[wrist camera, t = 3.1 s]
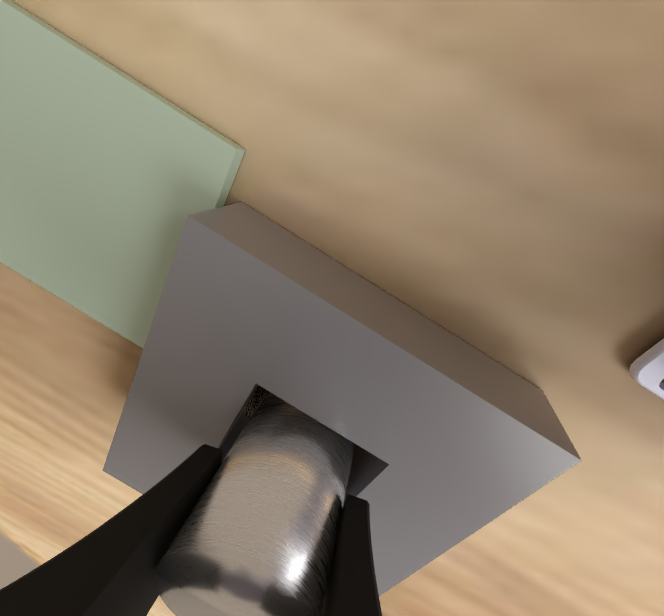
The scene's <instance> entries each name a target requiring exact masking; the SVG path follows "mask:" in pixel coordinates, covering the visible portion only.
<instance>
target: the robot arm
mask: <svg viewBox="0 0 664 616" xmlns="http://www.w3.org/2000/svg"><path fill="white" fill-rule="evenodd" d="M629 371H630V375H631V376H632V377H633V378H634V379H635V380H636V381H637V382H638V383H639V384H640V385H641V386H643V387H644V388H646V389H647V390H649V391H651V392H652V393H654V394H655V395H657V396H658V397H660V398H662V399H663V400H664V383H660V382H661V381H662V380H663V379H664V338H663V339H662V340H661V341H659V342H658V343H657V344H656V345H654V346H653V347H652V348H650V349H649V350H648V351H646V352H645V353H644V354H642V355H641V356H640V357H639V358H637V359H636V360H635V361H634V362H633V363H632V364H631V366H630V369H629ZM222 454H223V450H221V449H218V448H215V447H213V446H210V445H207V444H204V445H201V446H200V447H199V448H198V449H197V450H196V451H195V452H194V453H192V454H191V455H190V456H189V457H188V458H187V459H186V460H185V461H183V462H182V463H181V464H180V465H179V466H178V467H176V468H175V469H174V470H173V471H172V472H170V473H169V474H168V475H167V476H166V477H164V478H163V479H162V480H161V481H159V482H158V483H157V484H156V485H154V486H153V487H152V488H151V489H149V490H148V491H147V492H146V493H144V494H143V495H142V496H140V497H139V498H138V499H137V500H135V501H134V502H133V503H131V504H130V505H129V506H127V507H126V508H125V509H123V510H122V511H121V512H119V513H118V514H116V515H115V516H114V517H112V518H111V519H110V520H108V521H107V522H105V523H104V524H103V525H101V526H100V527H98V528H97V529H96V530H94V531H93V532H91V533H90V534H88V535H87V536H85V537H84V538H83V539H81V540H80V541H78V542H77V543H75V544H74V545H72V546H71V547H69V548H67V549H66V550H64V551H63V552H61V553H60V554H58V555H57V556H55V557H54V558H52V559H50V560H49V561H47V562H46V563H44V564H42V565H41V566H39V567H38V568H36V569H34V570H33V571H31V572H29V573H28V574H26V575H24V576H23V577H21V578H19V579H18V580H16V581H14V582H13V583H11V584H9V585H8V586H6V587H4V588H2V589H1V590H0V616H146V615H147V614H148V612H149V610H150V608H151V607H152V605H153V604H154V602H155V600H156V599H157V597H158V596H159V593H158V591H157V589H156V585H155V580H154V575H155V570H156V568H157V566H158V564H159V563H160V561H161V559H162V558H163V556H164V555H165V553H166V551H167V550H168V548H169V547H170V545H171V543H172V542H173V540H174V539H175V537H176V535H177V534H178V532H179V531H180V529H181V527H182V526H183V524H184V523H185V521H186V519H187V518H188V516H189V515H190V513H191V511H192V510H193V508H194V507H195V505H196V503H197V502H198V500H199V499H200V497H201V495H202V494H203V492H204V491H205V489H206V487H207V486H208V484H209V483H210V481H211V479H212V478H213V476H214V475H215V473H216V471H217V470H218V468H219V467H220V465H221V464H222ZM321 616H382V613H381V607H380V601H379V595H378V588H377V582H376V575H375V568H374V560H373V551H372V542H371V530H370V504H369V503H368V501H367V500H364V499H361V498H358V497H356V496H353V495H350V494H347V496H346V499H345V502H344V505H343V508H342V512H341V517H340V522H339V527H338V532H337V537H336V542H335V548H334V553H333V558H332V563H331V568H330V573H329V578H328V583H327V588H326V593H325V598H324V603H323V608H322V613H321Z"/></svg>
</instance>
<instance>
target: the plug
mask: <svg viewBox="0 0 664 616" xmlns="http://www.w3.org/2000/svg"><path fill="white" fill-rule="evenodd" d="M354 448H355V443H353V442H351V441H350V440H348V439H347V438H345V437H343V436H342V435H340V434H338V433H337V432H335V431H333V430H332V429H330V428H328V427H327V426H325V425H324V424H322V423H320V422H319V421H317V420H315V419H314V418H312V417H310V416H309V415H307V414H305V413H304V412H302V411H301V410H299V409H297V408H296V407H294V406H292V405H291V404H289V403H287V402H286V401H284V400H282V399H281V398H279V397H278V396H276V395H274V394H273V393H271V392H269V391H268V390H267V392H266V393H265V395H264V396H263V398H262V400H261V401H260V403H259V404H258V406H257V408H256V409H255V411H254V412H253V414H252V416H251V417H250V419H249V420H248V422H247V424H246V425H245V427H244V428H243V430H242V432H241V433H240V435H239V436H238V438H237V440H236V441H235V443H234V444H233V446H232V448H231V449H230V451H229V452H228V454H227V456H226V457H225V459H224V460H223V462H222V464H221V465H220V467H219V468H218V470H217V471H216V473H215V475H214V476H213V478H212V479H211V481H210V483H209V484H208V486H207V487H206V489H205V491H204V492H203V494H202V495H201V497H200V499H199V500H198V502H197V503H196V505H195V507H194V508H193V510H192V511H191V513H190V515H189V516H188V518H187V519H186V521H185V523H184V524H183V526H182V527H181V529H180V531H179V532H178V534H177V535H176V537H175V539H174V540H173V542H172V543H171V545H170V547H169V548H168V550H167V551H166V553H165V555H164V556H163V558H162V559H161V561H160V563H159V564H158V566H157V568H156V570H155V575H154V580H155V585H156V589H157V591H158V593H159V595H160V597H161V598H162V600H163V601H164V603H165V604H166V605H167V607H168V608H169V609H170V610H171V611H172V612H173V613H174V614H175V615H176V616H321V613H322V608H323V603H324V598H325V593H326V588H327V583H328V578H329V573H330V568H331V563H332V558H333V553H334V548H335V542H336V537H337V532H338V527H339V522H340V517H341V512H342V508H343V503H344V498H345V493H346V488H347V483H348V478H349V473H350V468H351V463H352V458H353V453H354Z"/></svg>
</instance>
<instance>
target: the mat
mask: <svg viewBox="0 0 664 616" xmlns="http://www.w3.org/2000/svg"><path fill="white" fill-rule="evenodd" d="M244 153H245V149H244V148H242V147H240V146H239V145H237V144H236V143H234V142H233V141H231V140H229V139H228V138H226V137H225V136H223V135H222V134H220V133H218V132H217V131H215V130H214V129H212V128H211V127H209V126H207V125H206V124H204V123H203V122H201V121H199V120H198V119H196V118H195V117H193V116H192V115H190V114H188V113H187V112H185V111H184V110H182V109H181V108H179V107H177V106H176V105H174V104H173V103H171V102H170V101H168V100H166V99H165V98H163V97H162V96H160V95H158V94H157V93H155V92H154V91H152V90H151V89H149V88H147V87H146V86H144V85H143V84H141V83H140V82H138V81H136V80H135V79H133V78H132V77H130V76H129V75H127V74H125V73H124V72H122V71H121V70H119V69H117V68H116V67H114V66H113V65H111V64H110V63H108V62H106V61H105V60H103V59H102V58H100V57H99V56H97V55H95V54H94V53H92V52H91V51H89V50H88V49H86V48H84V47H83V46H81V45H80V44H78V43H76V42H75V41H73V40H72V39H70V38H69V37H67V36H65V35H64V34H62V33H61V32H59V31H58V30H56V29H54V28H53V27H51V26H50V25H48V24H47V23H45V22H43V21H42V20H40V19H39V18H37V17H35V16H34V15H32V14H31V13H29V12H28V11H26V10H24V9H23V8H21V7H20V6H18V5H17V4H15V3H13V2H12V1H10V0H0V263H2V264H4V265H5V266H7V267H9V268H10V269H12V270H14V271H15V272H17V273H19V274H20V275H22V276H24V277H25V278H27V279H28V280H30V281H32V282H33V283H35V284H37V285H38V286H40V287H42V288H43V289H45V290H47V291H48V292H50V293H52V294H53V295H55V296H57V297H58V298H60V299H62V300H63V301H65V302H67V303H68V304H70V305H72V306H73V307H75V308H76V309H78V310H80V311H81V312H83V313H85V314H86V315H88V316H90V317H91V318H93V319H95V320H96V321H98V322H100V323H101V324H103V325H105V326H106V327H108V328H110V329H111V330H113V331H115V332H116V333H118V334H120V335H121V336H123V337H124V338H126V339H128V340H129V341H131V342H133V343H134V344H136V345H138V346H139V347H141V348H144V345H145V342H146V339H147V336H148V333H149V330H150V327H151V324H152V321H153V318H154V315H155V312H156V309H157V306H158V303H159V300H160V297H161V294H162V292H163V289H164V286H165V283H166V280H167V277H168V274H169V271H170V268H171V265H172V262H173V259H174V256H175V253H176V250H177V247H178V244H179V241H180V238H181V235H182V232H183V229H184V226H185V223H186V220H187V217H188V215H192V214H196V213H199V212H203V211H207V210H211V209H215V208H219V207H223V206H224V205H225V202H226V200H227V197H228V194H229V192H230V189H231V187H232V184H233V181H234V179H235V176H236V174H237V171H238V168H239V166H240V163H241V161H242V158H243V155H244Z"/></svg>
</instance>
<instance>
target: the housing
mask: <svg viewBox="0 0 664 616" xmlns="http://www.w3.org/2000/svg"><path fill="white" fill-rule="evenodd" d="M258 386H261V387H263V388H264V389H266V390H268V391H269V392H271V393H273V394H274V395H276V396H278V397H279V398H281V399H282V400H284V401H286V402H287V403H289V404H291V405H292V406H294V407H296V408H297V409H299V410H301V411H302V412H304V413H305V414H307V415H309V416H310V417H312V418H314V419H315V420H317V421H319V422H320V423H322V424H324V425H325V426H327V427H328V428H330V429H332V430H333V431H335V432H337V433H338V434H340V435H342V436H343V437H345V438H347V439H348V440H350V441H351V442H353V443H355V448H354V453H353V458H352V463H351V468H350V473H349V478H348V483H347V488H346V493H345V498H344V502H345V499H346V496H347V494H350V495H353V496H356V497H358V498H361V499H364V500H367V501H368V503H369V504H370V530H371V542H372V551H373V560H374V568H375V575H376V582H377V588H378V595H379V596H380V595H382V594H383V593H385V592H386V591H388V590H389V589H391V588H392V587H394V586H395V585H397V584H398V583H400V582H401V581H403V580H404V579H406V578H407V577H409V576H410V575H412V574H413V573H414V572H416V571H417V570H419V569H420V568H422V567H423V566H425V565H426V564H428V563H429V562H431V561H432V560H434V559H435V558H437V557H438V556H440V555H441V554H443V553H444V552H446V551H447V550H449V549H450V548H452V547H453V546H455V545H456V544H458V543H459V542H461V541H462V540H464V539H465V538H467V537H468V536H470V535H471V534H473V533H474V532H476V531H477V530H479V529H480V528H482V527H483V526H485V525H486V524H488V523H489V522H491V521H492V520H494V519H495V518H497V517H498V516H500V515H501V514H503V513H504V512H506V511H507V510H509V509H510V508H512V507H513V506H515V505H516V504H518V503H519V502H521V501H522V500H524V499H525V498H527V497H528V496H530V495H531V494H533V493H534V492H536V491H537V490H539V489H540V488H542V487H543V486H545V485H546V484H548V483H549V482H551V481H552V480H554V479H555V478H557V477H558V476H560V475H561V474H563V473H564V472H565V471H567V470H568V469H570V468H571V467H573V466H574V465H576V464H577V463H579V462H580V461H582V460H581V458H580V457H579V455H578V453H577V451H576V449H575V448H574V446H573V444H572V442H571V441H570V439H569V437H568V435H567V433H566V432H565V430H564V428H563V426H562V424H561V423H560V421H559V419H558V417H557V416H556V414H555V412H554V410H553V408H552V407H551V405H550V403H549V401H548V399H547V398H546V396H545V394H544V392H543V391H542V390H541V389H539V388H538V387H536V386H535V385H533V384H531V383H530V382H528V381H527V380H525V379H523V378H522V377H520V376H519V375H517V374H516V373H514V372H512V371H511V370H509V369H508V368H506V367H504V366H503V365H501V364H500V363H498V362H496V361H495V360H493V359H492V358H490V357H488V356H487V355H485V354H484V353H482V352H480V351H479V350H477V349H476V348H474V347H473V346H471V345H469V344H468V343H466V342H465V341H463V340H461V339H460V338H458V337H457V336H455V335H453V334H452V333H450V332H449V331H447V330H445V329H444V328H442V327H441V326H439V325H438V324H436V323H434V322H433V321H431V320H430V319H428V318H426V317H425V316H423V315H422V314H420V313H418V312H417V311H415V310H414V309H412V308H410V307H409V306H407V305H406V304H404V303H402V302H401V301H399V300H398V299H396V298H395V297H393V296H391V295H390V294H388V293H387V292H385V291H383V290H382V289H380V288H379V287H377V286H375V285H374V284H372V283H371V282H369V281H367V280H366V279H364V278H363V277H361V276H359V275H358V274H356V273H355V272H353V271H352V270H350V269H348V268H347V267H345V266H344V265H342V264H340V263H339V262H337V261H336V260H334V259H332V258H331V257H329V256H328V255H326V254H324V253H323V252H321V251H320V250H318V249H316V248H315V247H313V246H312V245H310V244H309V243H307V242H305V241H304V240H302V239H301V238H299V237H297V236H296V235H294V234H293V233H291V232H289V231H288V230H286V229H285V228H283V227H281V226H280V225H278V224H277V223H275V222H273V221H272V220H270V219H269V218H267V217H266V216H264V215H262V214H261V213H259V212H258V211H256V210H254V209H253V208H251V207H250V206H248V205H246V204H245V203H243V202H238V203H235V204H231V205H227V206H223V207H219V208H215V209H211V210H207V211H203V212H199V213H196V214H192V215H188V217H187V220H186V223H185V226H184V229H183V232H182V235H181V238H180V241H179V244H178V247H177V250H176V253H175V256H174V259H173V262H172V265H171V268H170V271H169V274H168V277H167V280H166V283H165V286H164V289H163V292H162V294H161V297H160V300H159V303H158V306H157V309H156V312H155V315H154V318H153V321H152V324H151V327H150V330H149V333H148V336H147V339H146V342H145V345H144V348H143V351H142V354H141V357H140V360H139V363H138V366H137V369H136V372H135V375H134V378H133V381H132V384H131V387H130V390H129V393H128V396H127V399H126V402H125V405H124V408H123V411H122V414H121V417H120V420H119V423H118V426H117V429H116V432H115V435H114V438H113V441H112V444H111V447H110V450H109V453H108V456H107V459H106V462H105V465H104V468H103V471H104V472H106V473H108V474H109V475H111V476H113V477H115V478H116V479H118V480H120V481H121V482H123V483H125V484H126V485H128V486H130V487H132V488H133V489H135V490H137V491H138V492H140V493H142V494H144V493H146V492H147V491H148V490H149V489H151V488H152V487H153V486H154V485H156V484H157V483H158V482H159V481H161V480H162V479H163V478H164V477H166V476H167V475H168V474H169V473H170V472H172V471H173V470H174V469H175V468H176V467H178V466H179V465H180V464H181V463H182V462H183V461H185V460H186V459H187V458H188V457H189V456H190V455H191V454H192V453H194V452H195V451H196V450H197V449H198V448H199V447H200V446H201V445H204V444H207V445H210V446H213V447H215V448H218V449H221V450H223V454H222V462H223V460H224V459H225V457H226V456H227V454H228V452H229V451H230V449H231V448H232V446H233V444H234V443H235V441H236V440H237V438H238V436H239V435H240V433H241V432H242V430H243V428H244V427H245V425H246V424H247V422H248V420H249V419H250V417H248V416H246V415H245V414H243V411H244V410H245V408H246V406H247V405H248V403H249V401H250V400H251V398H252V396H253V395H254V393H255V391H256V390H257V388H258ZM343 505H344V503H343Z"/></svg>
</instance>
